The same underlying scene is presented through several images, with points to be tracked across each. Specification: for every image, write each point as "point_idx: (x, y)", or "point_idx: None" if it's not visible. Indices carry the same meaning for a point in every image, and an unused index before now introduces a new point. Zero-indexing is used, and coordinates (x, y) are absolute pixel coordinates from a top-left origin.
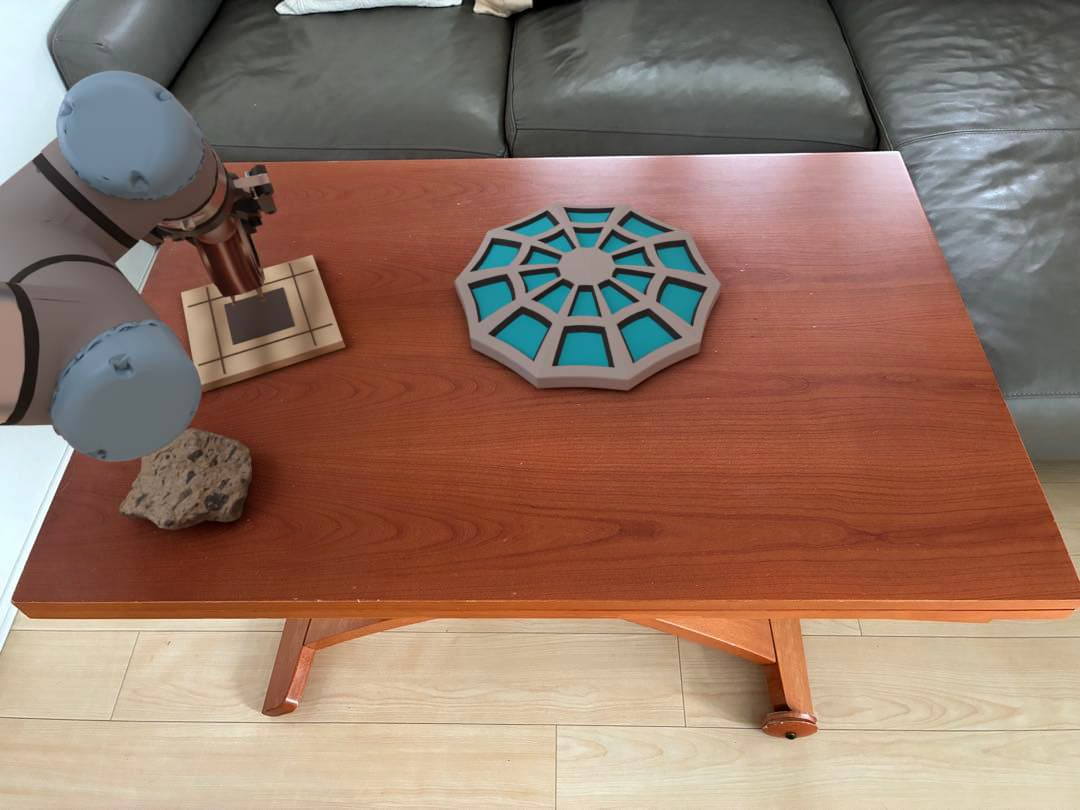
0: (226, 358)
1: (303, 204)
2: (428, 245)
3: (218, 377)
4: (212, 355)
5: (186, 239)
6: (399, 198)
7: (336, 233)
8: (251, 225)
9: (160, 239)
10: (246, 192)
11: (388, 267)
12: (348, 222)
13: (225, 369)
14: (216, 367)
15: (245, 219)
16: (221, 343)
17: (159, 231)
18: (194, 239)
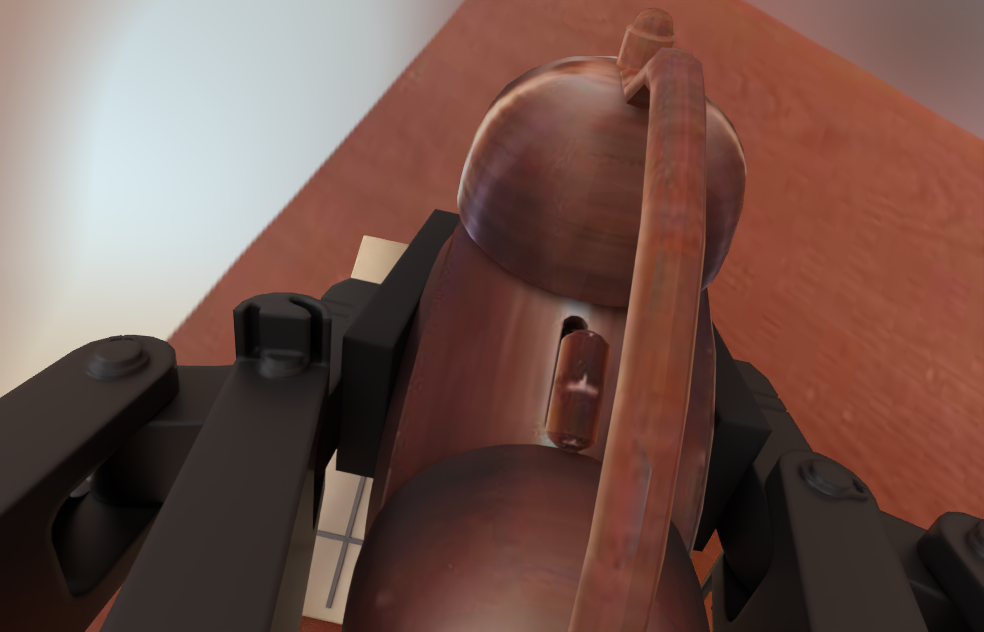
0: (357, 548)
1: (725, 112)
2: (964, 437)
3: (308, 609)
4: (332, 511)
5: (338, 469)
6: (942, 228)
7: (763, 250)
8: (705, 596)
9: (95, 616)
10: (904, 590)
11: (844, 450)
12: (802, 232)
13: (337, 590)
14: (320, 566)
15: (715, 626)
16: (370, 480)
17: (156, 475)
18: (369, 528)
